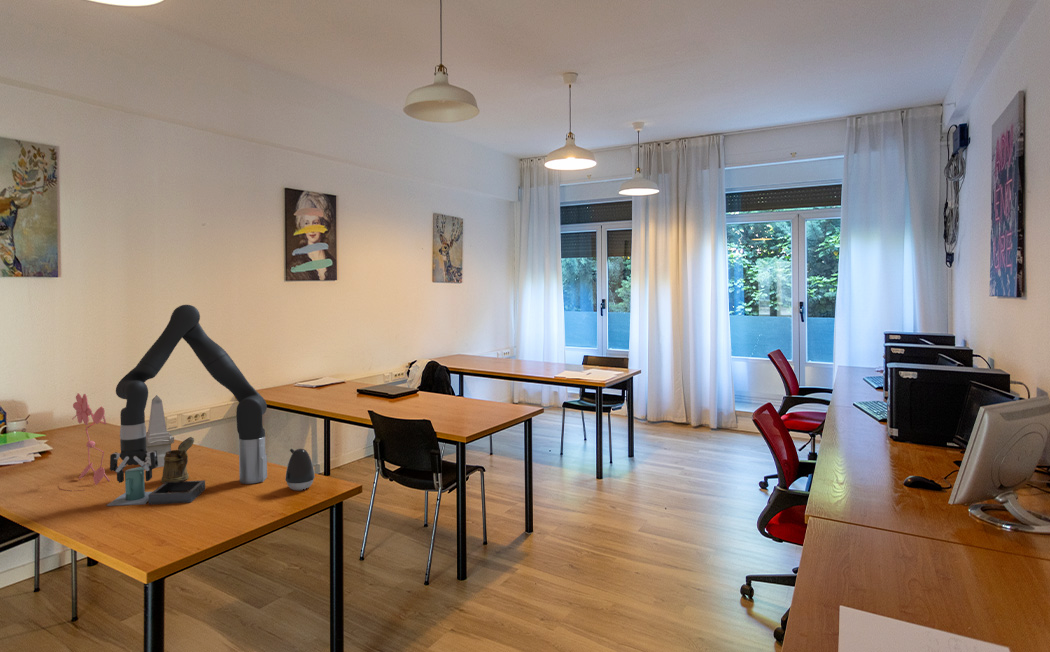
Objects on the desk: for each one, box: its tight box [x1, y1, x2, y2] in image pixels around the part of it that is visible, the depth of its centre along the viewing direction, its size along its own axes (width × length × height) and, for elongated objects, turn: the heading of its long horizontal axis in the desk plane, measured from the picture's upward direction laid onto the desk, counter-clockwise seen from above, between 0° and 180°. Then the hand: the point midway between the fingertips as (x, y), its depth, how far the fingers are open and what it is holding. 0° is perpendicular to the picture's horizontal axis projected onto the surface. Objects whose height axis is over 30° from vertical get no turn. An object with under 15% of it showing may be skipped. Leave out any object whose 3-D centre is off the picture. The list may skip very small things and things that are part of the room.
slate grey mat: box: [106, 491, 153, 507], centre depth 198 cm, size 12×12×1 cm
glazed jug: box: [124, 466, 146, 501], centre depth 198 cm, size 9×6×10 cm, turn 10°
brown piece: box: [160, 436, 195, 484], centre depth 218 cm, size 9×14×18 cm, turn 69°
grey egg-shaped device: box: [285, 448, 316, 491], centre depth 211 cm, size 10×10×15 cm
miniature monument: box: [146, 394, 175, 469], centre depth 238 cm, size 10×10×30 cm
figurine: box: [59, 393, 110, 492], centre depth 212 cm, size 15×26×35 cm, turn 59°
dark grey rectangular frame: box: [148, 479, 206, 506], centre depth 201 cm, size 13×13×4 cm
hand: (134, 481), depth 198 cm, fingers open, 8 cm apart
